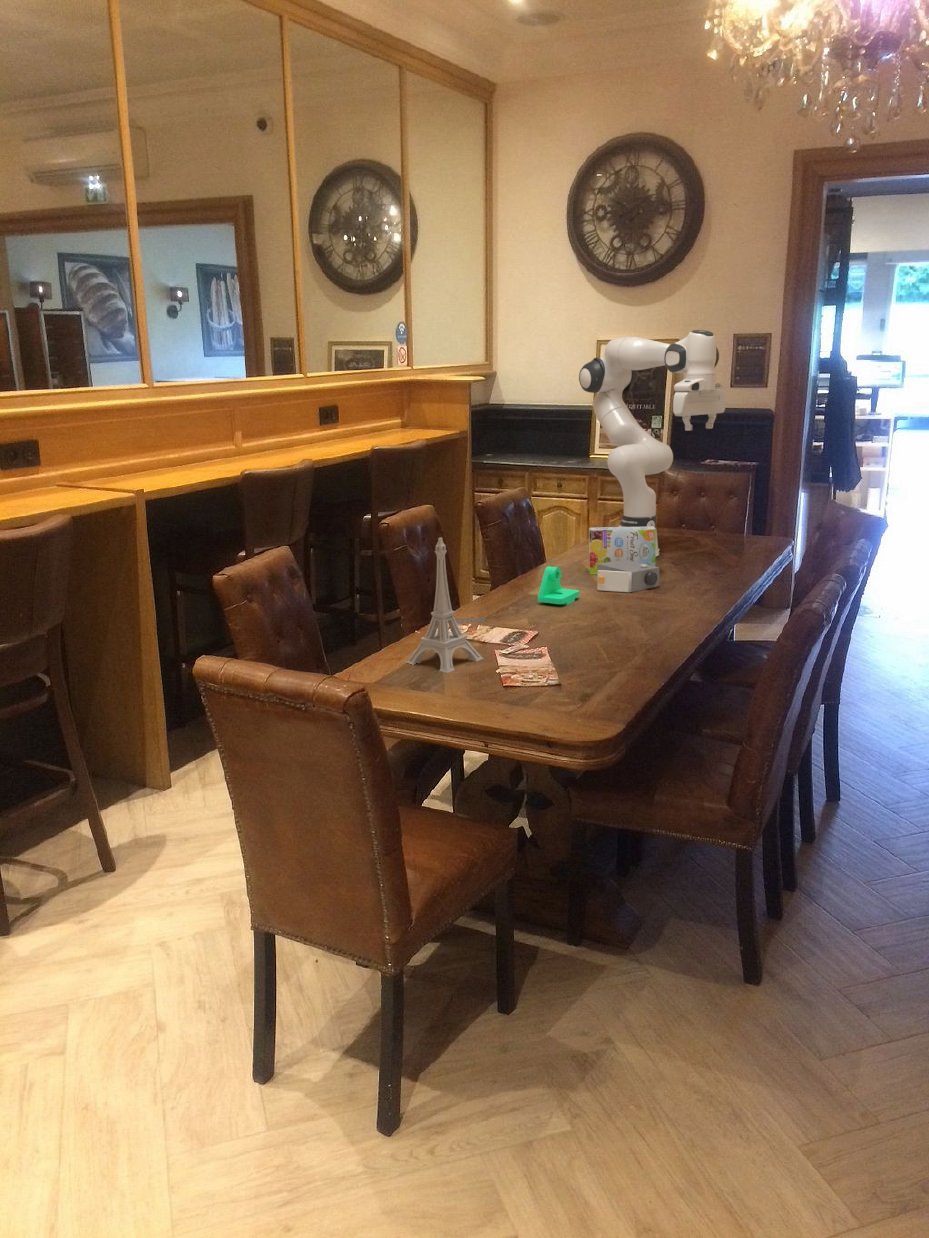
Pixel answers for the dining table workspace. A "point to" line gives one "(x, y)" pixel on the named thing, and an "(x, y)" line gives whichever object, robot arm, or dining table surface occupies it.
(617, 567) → the camera case
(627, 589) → the side door
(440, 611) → the eiffel tower
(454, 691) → the dining table surface
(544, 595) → the camera mount
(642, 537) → the snack box
